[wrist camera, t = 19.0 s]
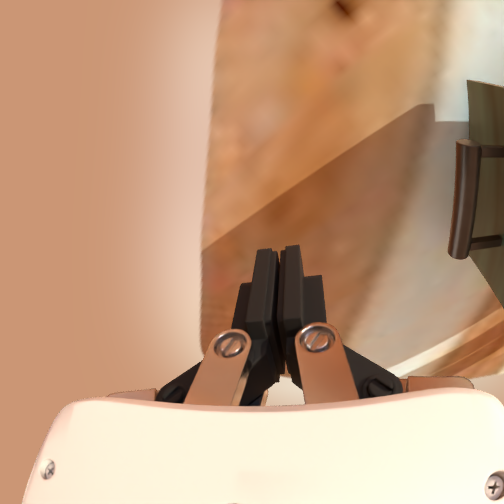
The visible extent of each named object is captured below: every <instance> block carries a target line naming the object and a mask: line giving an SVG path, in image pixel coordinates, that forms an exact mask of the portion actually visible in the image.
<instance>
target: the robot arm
mask: <svg viewBox="0 0 504 504" xmlns="http://www.w3.org/2000/svg"><path fill="white" fill-rule="evenodd" d="M285 360H286V364H287V369H288V373H289V374H291V378H292V382H293V383H294V384H295V385H296V386H298V387H299V388H300V389H302V390H303V394H304V400H305V404H304V405H285V406H265V404H266V400H267V397H268V388H270V387H271V386H272V385H273V384H274V383H275V382H279V379H280V374H285ZM22 504H504V407H503V405H502V404H501V402H500V401H499V400H498V399H497V398H496V397H494V396H493V395H491V394H489V393H487V392H484V391H480V390H476V389H474V385H473V384H472V383H471V381H470V380H468V379H467V378H465V377H460V376H439V377H424V376H408V379H399V378H398V377H396V376H395V375H394V374H392V373H391V372H389V371H387V370H385V369H384V368H382V367H380V366H379V365H377V364H375V363H373V362H372V361H370V360H368V359H367V358H365V357H363V356H361V355H360V354H358V353H356V352H355V351H353V350H351V349H350V348H348V347H346V346H345V345H343V344H342V341H341V338H340V335H339V333H338V331H337V329H336V328H335V327H333V326H332V325H330V324H327V321H326V310H325V301H324V291H323V283H322V275H316V276H308V277H304V273H303V265H302V259H301V252H300V246H299V245H293V246H286V249H285V250H281V254H280V263H279V258H278V253H277V251H273V252H272V249H271V248H268V249H260V250H257V255H256V261H255V266H254V272H253V278H252V282H250V283H242V284H241V286H240V290H239V294H238V299H237V303H236V308H235V313H234V317H233V322H232V327H231V329H229V330H225V331H223V332H221V333H219V334H218V335H216V336H215V337H214V338H213V340H212V341H211V343H210V345H209V347H208V349H207V352H206V354H205V356H204V358H203V360H202V361H201V362H199V363H198V364H197V365H195V366H193V367H192V368H190V369H189V370H187V371H186V372H184V373H183V374H181V375H180V376H179V377H177V378H176V379H174V380H172V381H171V382H169V383H168V384H166V385H165V386H164V387H162V388H161V389H160V390H159V391H157V390H156V389H155V388H153V389H146V390H137V391H128V392H118V393H112V394H109V395H108V396H107V397H95V398H86V399H82V400H78V401H75V402H72V403H70V404H68V405H66V406H65V407H64V408H63V409H62V410H61V411H60V412H59V414H58V415H57V416H56V418H55V420H54V421H53V423H52V425H51V427H50V429H49V431H48V433H47V435H46V437H45V439H44V442H43V444H42V446H41V449H40V451H39V454H38V456H37V459H36V461H35V464H34V467H33V470H32V472H31V475H30V478H29V481H28V485H27V487H26V490H25V494H24V497H23V501H22Z"/></svg>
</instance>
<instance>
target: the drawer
mask: <svg viewBox="0 0 504 504" xmlns="http://www.w3.org/2000/svg"><path fill="white" fill-rule="evenodd" d="M467 89H468V104H469V140H468V139H459V140H457V141H456V172H455V190H454V203H453V213H452V222H451V230H450V237H449V244H448V254H449V255H450V256H451V257H453V258H455V259H460V260H461V259H466V258H467V257H468V255H469V256H470V257H471V259H472V260H473V261H474V263H475V264H476V266H477V267H478V269H479V270H480V272H481V273H482V275H483V276H484V278H485V279H486V281H487V282H488V284H489V285H490V287H491V289H492V290H493V292H494V293H495V295H496V297H497V298H498V300H499V301H500V303H501V305H502V307H503V308H504V86H500V85H495V84H491V83H486V82H481V81H473V80H467Z"/></svg>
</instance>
